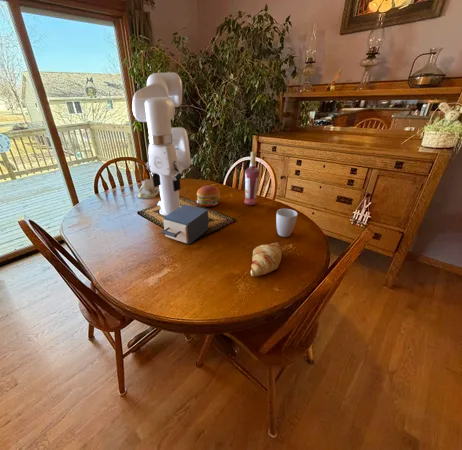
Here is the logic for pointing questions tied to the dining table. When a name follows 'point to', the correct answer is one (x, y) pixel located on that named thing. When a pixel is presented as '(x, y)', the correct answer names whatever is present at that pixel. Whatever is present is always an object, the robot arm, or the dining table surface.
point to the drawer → (175, 231)
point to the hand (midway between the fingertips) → (166, 187)
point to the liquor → (251, 182)
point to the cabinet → (191, 220)
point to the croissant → (266, 258)
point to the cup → (285, 221)
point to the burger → (208, 196)
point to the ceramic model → (148, 189)
